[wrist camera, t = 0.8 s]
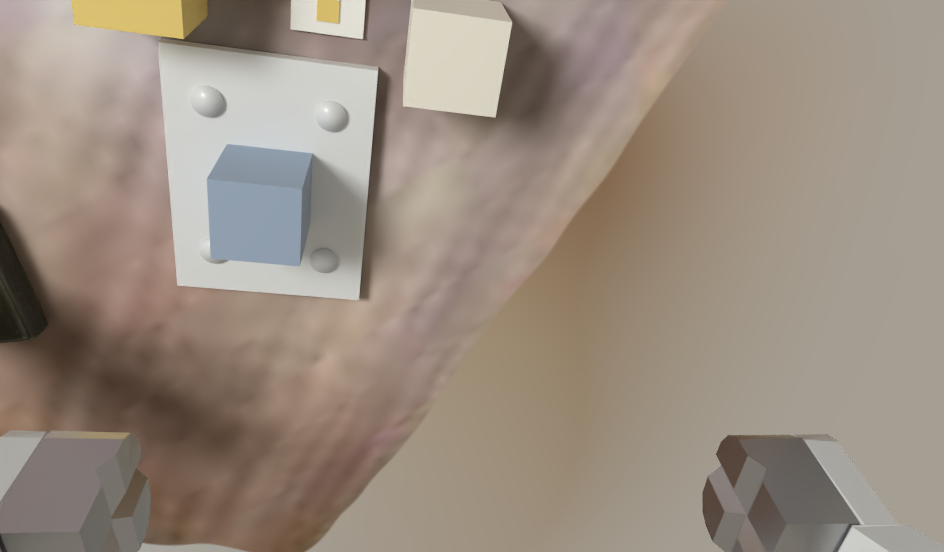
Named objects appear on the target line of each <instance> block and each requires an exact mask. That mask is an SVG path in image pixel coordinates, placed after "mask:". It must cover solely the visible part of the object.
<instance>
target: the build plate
mask: <svg viewBox="0 0 944 552" xmlns="http://www.w3.org/2000/svg"><path fill="white" fill-rule="evenodd" d="M158 53H159V66H160V78H161V90H162V102H163V115H164V127H165V139H166V152H167V164H168V176H169V188H170V201H171V213H172V225H173V237H174V250H175V262H176V274H177V285H179V286H191V287H203V288H215V289H228V290H240V291H252V292H264V293H277V294H289V295H301V296H313V297H326V298H338V299H350V300H359V294H360V282H361V270H362V258H363V246H364V234H365V222H366V211H367V199H368V187H369V175H370V163H371V151H372V139H373V127H374V115H375V103H376V91H377V79H378V67H375V66H367V65H360V64H352V63H344V62H337V61H329V60H322V59H314V58H307V57H299V56H291V55H284V54H276V53H269V52H261V51H254V50H246V49H238V48H231V47H223V46H216V45H208V44H201V43H193V42H185V41H178V40H170V39H163V38H162V39H161V40H159V41H158ZM227 144H233V145H242V146H251V147H260V148H269V149H278V150H287V151H296V152H305V153H313V155H312V182H311V210H310V227H309V231H308V236H307V240H306V244H305V248H304V252H303V256H302V260H301V264H300V266H289V265H278V264H267V263H255V262H244V261H232V260H221V259H211V253H210V233H209V213H208V193H207V178H208V176H209V174H210V173H211V171H212V169H213V167H214V166H215V164H216V162H217V160H218V159H219V157H220V155H221V153H222V152H223V150H224V148H225V147H226V145H227Z"/></svg>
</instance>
